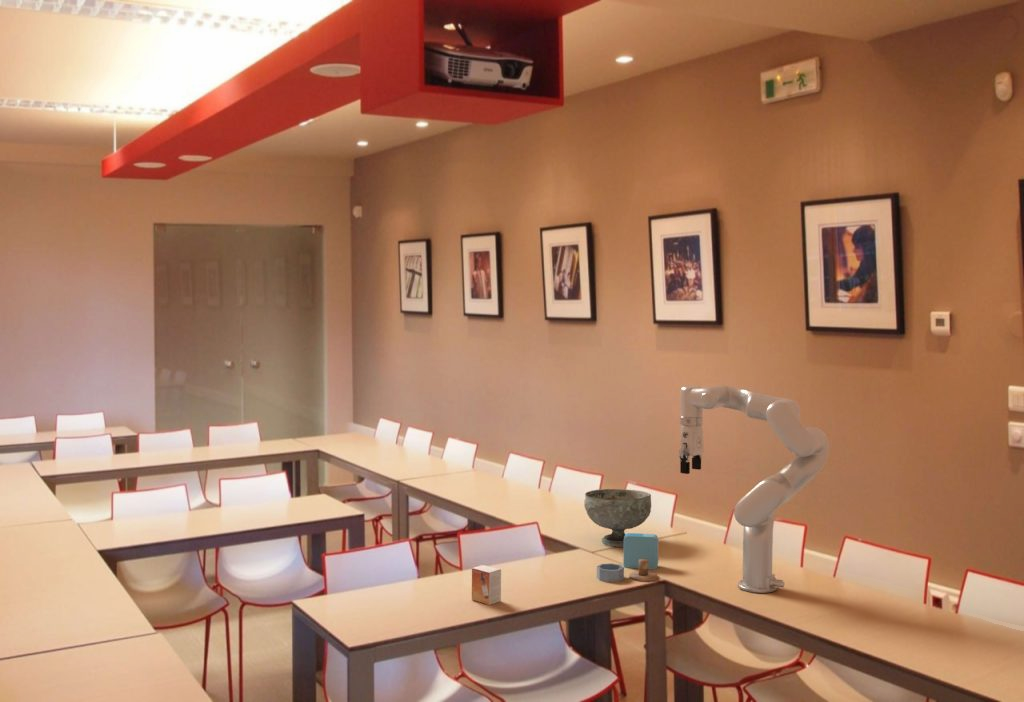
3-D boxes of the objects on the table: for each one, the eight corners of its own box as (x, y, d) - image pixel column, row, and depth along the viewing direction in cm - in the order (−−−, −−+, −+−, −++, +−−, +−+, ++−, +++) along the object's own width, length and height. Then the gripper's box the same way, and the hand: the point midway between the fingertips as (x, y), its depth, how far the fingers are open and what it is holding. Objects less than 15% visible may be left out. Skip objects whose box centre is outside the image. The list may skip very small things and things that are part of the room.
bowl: (627, 578, 337) (627, 565, 336) (615, 585, 330) (615, 571, 329) (605, 574, 342) (605, 562, 341) (593, 580, 334) (593, 567, 334)
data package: (658, 567, 351) (658, 534, 351) (657, 570, 347) (657, 537, 346) (624, 565, 354) (624, 532, 353) (623, 569, 349) (623, 535, 348)
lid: (661, 576, 338) (662, 559, 337) (649, 583, 330) (649, 565, 329) (637, 572, 343) (637, 555, 343) (624, 578, 335) (624, 561, 335)
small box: (471, 600, 314) (471, 567, 313) (483, 596, 318) (483, 564, 317) (489, 605, 308) (489, 572, 308) (501, 601, 313) (501, 568, 312)
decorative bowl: (595, 551, 370) (597, 499, 370) (574, 537, 395) (576, 487, 395) (660, 550, 377) (662, 498, 376) (636, 535, 402) (637, 487, 401)
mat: (658, 578, 337) (659, 576, 337) (648, 583, 331) (648, 582, 331) (638, 574, 342) (638, 572, 342) (627, 580, 335) (627, 578, 335)
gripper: (691, 425, 327) (690, 476, 328) (711, 419, 341) (710, 468, 342) (670, 423, 331) (670, 474, 332) (691, 418, 346) (690, 466, 347)
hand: (690, 471), depth 337 cm, fingers open, 9 cm apart
